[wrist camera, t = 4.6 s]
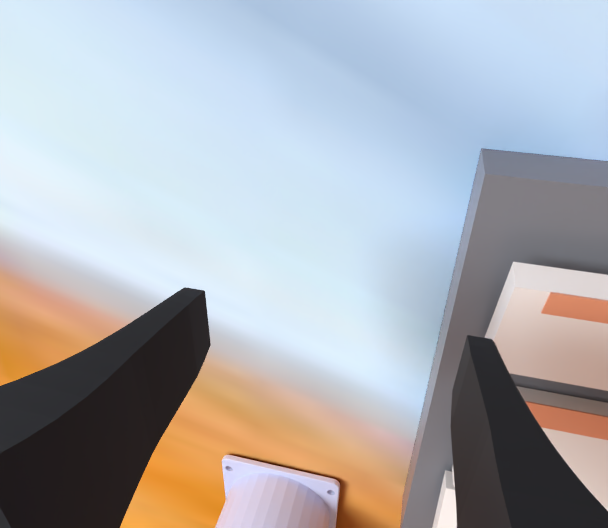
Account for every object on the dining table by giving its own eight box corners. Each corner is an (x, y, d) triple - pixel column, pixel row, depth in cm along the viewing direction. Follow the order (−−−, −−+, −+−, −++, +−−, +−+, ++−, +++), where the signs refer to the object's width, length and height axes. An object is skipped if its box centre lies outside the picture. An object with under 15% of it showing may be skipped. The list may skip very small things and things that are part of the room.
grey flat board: (607, 542, 30) (618, 587, 28) (402, 496, 32) (399, 534, 30) (1012, -59, 13) (1113, -58, 11) (530, -71, 15) (543, -72, 13)
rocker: (670, 516, 22) (684, 539, 21) (452, 469, 23) (453, 487, 22) (705, 420, 20) (722, 439, 19) (471, 377, 22) (473, 392, 21)
